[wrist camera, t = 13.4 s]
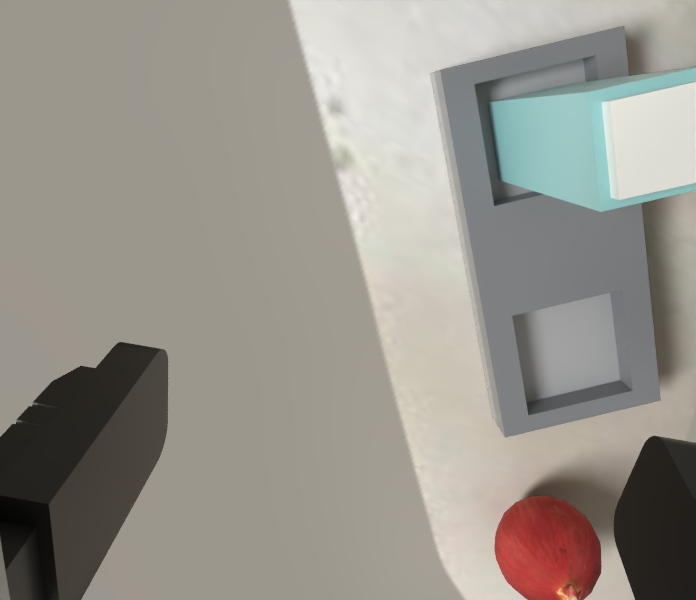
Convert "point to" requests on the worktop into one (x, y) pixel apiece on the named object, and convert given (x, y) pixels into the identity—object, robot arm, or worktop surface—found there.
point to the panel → (546, 254)
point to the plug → (601, 139)
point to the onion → (548, 550)
